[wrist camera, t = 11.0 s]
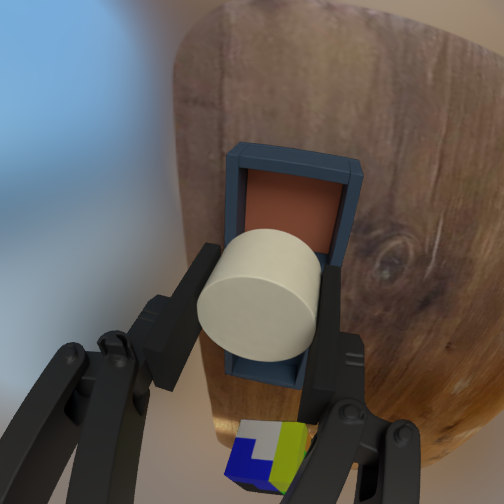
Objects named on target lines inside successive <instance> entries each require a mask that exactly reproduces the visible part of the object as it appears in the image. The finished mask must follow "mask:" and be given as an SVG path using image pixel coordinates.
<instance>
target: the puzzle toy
mask: <svg viewBox="0 0 504 504" xmlns="http://www.w3.org/2000/svg"><path fill="white" fill-rule="evenodd" d="M311 440H312V439H311V436H310V434H309V432H308V429H307V427H306V425H305V423H299V422H279V421H258V420H244V419H241V422H240V425H239V428H238V431H237V435H236V438H235V441H234V444H233V448H232V451H231V454H230V457H229V460H228V463H227V467H226V469H225V473H224V475H225V476H226V477H228V478H229V479H230V480H232V481H233V482H235V483H236V484H237V485H239V486H240V487H242V488H243V489H245V490H246V491H252V492H258V493H266V494H275V495H285V493H286V491H287V490H288V488H289V486H290V484H291V482H292V480H293V478H294V476H295V475H296V473H297V471H298V469H299V467H300V465H301V463H302V461H303V459H304V457H305V455H306V453H307V451H308V448H309V446H310V444H311Z"/></svg>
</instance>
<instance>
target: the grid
mask: <svg viewBox="0 0 504 504" xmlns="http://www.w3.org/2000/svg"><path fill="white" fill-rule="evenodd" d="M362 181H363V172H362V169H361V165H360V161H359V160H356V159H351V158H346V157H341V156H335V155H330V154H324V153H318V152H312V151H306V150H300V149H293V148H286V147H279V146H272V145H264V144H256V143H247V142H239V143H238V144H237V145H236V146H235V147H234V148H233V149H232V150H231V151H229V152H228V153H227V155H226V192H225V248H226V247H227V245H228V244H229V243H230V242H231V241H232V240H233V239H234V238H236V237H237V236H239V235H240V234H242V233H245V232H247V231H251V230H256V229H274V230H279V231H283V232H286V233H289V234H291V235H293V236H295V237H297V238H298V239H300V240H301V241H303V242H304V243H305V244H306V245H308V246H309V248H310V249H311V250H312V251H313V252H314V254H315V255H316V257H317V259H318V261H319V263H320V266H321V272H322V273H323V269H324V265H325V264H327V265H333V266H338V267H341V266H342V262H343V259H344V255H345V251H346V248H347V244H348V240H349V236H350V232H351V228H352V224H353V220H354V216H355V212H356V208H357V203H358V199H359V195H360V190H361V186H362ZM308 349H309V347H308V348H307V349H306V350H305V351H304V352H302V353H301V354H299V355H297V356H295V357H293V358H290V359H287V360H282V361H274V362H264V361H256V360H250V359H247V358H243V357H240V356H237V355H235V354H233V353H231V352H229V351H227V350H225V374H227V375H231V376H235V377H240V378H244V379H248V380H253V381H257V382H262V383H267V384H272V385H277V386H282V387H287V388H292V389H293V388H294V389H298V390H301V388H302V386H303V383H304V376H305V370H306V363H307V356H308Z"/></svg>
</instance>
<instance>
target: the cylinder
mask: <svg viewBox="0 0 504 504" xmlns="http://www.w3.org/2000/svg"><path fill="white" fill-rule="evenodd" d="M321 277H322V272H321V266H320V263H319V261H318V259H317V257H316V255H315V254H314V252H313V251H312V250H311V249H310V248H309V246H308V245H306V244H305V243H304V242H303V241H301V240H300V239H298V238H297V237H295V236H293V235H291V234H289V233H286V232H283V231H279V230H274V229H256V230H251V231H247V232H245V233H242V234H240V235H239V236H237V237H236V238H234V239H233V240H232V241H231V242H230V243H229V244H228V245H227V247H226V248H225V250H224V252H223V254H222V255H221V257H220V259H219V261H218V263H217V264H216V266H215V268H214V270H213V272H212V273H211V275H210V277H209V279H208V281H207V283H206V284H205V286H204V288H203V290H202V292H201V294H200V296H199V298H198V301H197V312H198V319H199V322H200V324H201V326H202V328H203V330H204V331H205V332H206V334H207V335H208V336H209V337H210V338H211V339H212V340H213V341H214V342H215V343H217V344H218V345H219V346H221V347H222V348H224V349H225V350H227V351H229V352H231V353H233V354H235V355H237V356H240V357H243V358H247V359H250V360H256V361H264V362H274V361H282V360H287V359H290V358H293V357H295V356H297V355H299V354H301V353H302V352H304V351H305V350H306V349H307V348H308V347H309V346H310V345H311V343H312V341H313V338H314V335H315V331H316V327H317V318H318V308H319V299H320V288H321Z"/></svg>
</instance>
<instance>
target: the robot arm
mask: <svg viewBox="0 0 504 504" xmlns="http://www.w3.org/2000/svg"><path fill="white" fill-rule="evenodd" d="M220 257H221V245H217V244H211V243H205V244H204V246H203V247H202V249H201V250H200V252H199V254H198V255H197V257H196V258H195V260H194V261H193V263H192V264H191V266H190V267H189V269H188V271H187V272H186V274H185V275H184V277H183V279H182V280H181V282H180V283H179V285H178V286H177V288H176V290H175V291H174V293H173V294H172V296H171V298H170V297H166V296H162V295H156V296H155V297H154V298H152V299H151V300H149V301H148V303H147V304H146V306H145V307H144V309H143V311H142V312H141V313H140V315H139V316H138V319H136V321H135V322H134V324H133V325H132V327H131V328H130V330H129V331H128V333H127V334H126V333H124V332H122V331H118V330H117V331H109V332H107V333H105V334H103V335H102V336H101V337H100V338H99V340H98V341H97V344H98V346H99V348H100V350H101V352H90V351H85V350H84V348H83V346H81V345H80V344H79V343H75V342H71V343H67V344H65V345H63V346H62V347H61V348H60V349H59V350H58V351H57V352H56V354H55V355H54V357H53V358H52V359H51V361H50V362H49V364H48V365H47V366H46V368H45V369H44V371H43V372H42V374H41V375H40V377H39V378H38V380H37V381H36V383H35V384H34V386H33V387H32V389H31V390H30V392H29V393H28V395H27V396H26V398H25V399H24V401H23V403H22V404H21V406H20V408H19V409H18V411H17V412H16V414H15V415H14V417H13V419H12V420H11V422H10V424H9V425H8V427H7V429H6V431H5V432H4V434H3V436H2V437H1V439H0V504H47V503H48V501H49V499H50V497H51V495H52V493H53V491H54V489H55V487H56V485H57V483H58V481H59V479H60V477H61V475H62V473H63V471H64V468H65V466H66V465H67V463H68V461H69V459H70V457H71V455H72V453H73V451H74V449H75V447H76V445H77V443H78V446H77V450H76V454H75V458H74V463H73V468H72V473H71V477H70V482H69V488H68V493H67V499H66V504H133V503H134V494H135V486H136V478H137V471H138V464H139V457H140V450H141V444H142V438H143V431H144V426H145V419H146V414H147V408H148V403H149V397H150V390H149V386H150V384H151V382H152V380H153V382H154V384H155V386H156V387H159V388H162V389H165V390H168V391H171V392H173V390H174V387H175V385H176V383H177V381H178V379H179V377H180V374H181V372H182V370H183V368H184V366H185V364H186V361H187V359H188V357H189V355H190V353H191V351H192V348H193V346H194V344H195V342H196V340H197V338H198V336H199V333H200V331H201V329H202V326H201V324H200V322H199V319H198V312H197V301H198V298H199V296H200V294H201V292H202V290H203V288H204V286H205V284H206V283H207V281H208V279H209V277H210V275H211V273H212V272H213V270H214V268H215V266H216V264H217V263H218V261H219V259H220ZM340 293H341V267H338V266H333V265H327V264H325V265H324V269H323V273H322V277H321V288H320V299H319V308H318V318H317V327H316V331H315V335H314V338H313V341H312V343H311V345H310V346H309V349H308V356H307V363H306V370H305V376H304V383H303V389H302V395H301V401H300V407H299V412H298V418H297V422H299V423H305V424H312V425H317V423H318V421H319V424H318V431H317V433H316V434H315V436H314V437H313V439H312V440H311V444H310V446H309V448H308V451H307V453H306V455H305V457H304V459H303V461H302V463H301V465H300V467H299V469H298V471H297V473H296V475H295V476H294V478H293V480H292V482H291V484H290V486H289V488H288V490H287V491H286V493H285V495H284V497H283V499H282V500H281V502H280V504H336V502H337V500H338V498H339V495H340V493H341V491H342V488H343V486H344V484H345V481H346V479H347V476H348V474H349V471H350V469H351V466H352V464H353V461H354V462H356V463H358V464H359V466H358V475H357V483H356V491H355V498H354V504H419V498H420V468H421V452H420V433H419V430H418V428H417V427H416V425H415V424H414V423H412V422H411V421H408V420H404V419H402V420H396V421H395V422H393V423H391V422H388V421H386V420H384V419H381V418H379V417H377V416H375V415H373V414H372V413H371V412H370V411H369V409H368V408H367V406H366V404H365V399H364V376H365V369H364V344H363V342H362V340H361V338H360V336H359V335H357V334H351V333H345V332H339V331H340Z"/></svg>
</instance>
